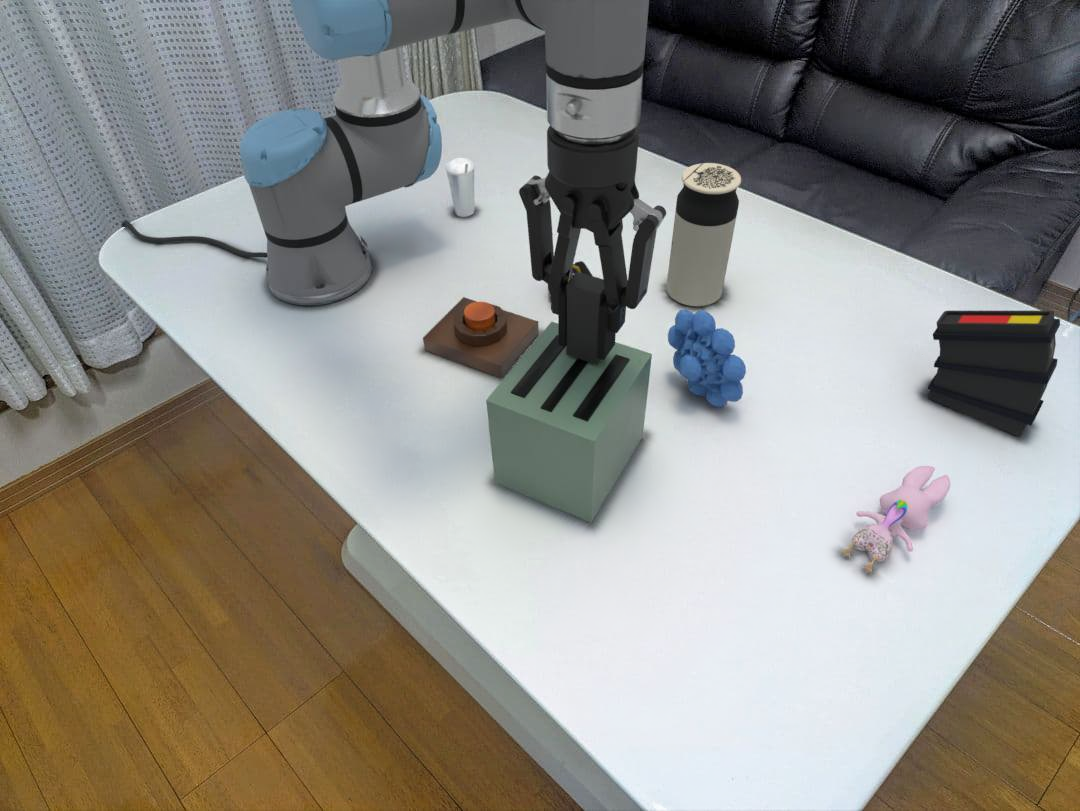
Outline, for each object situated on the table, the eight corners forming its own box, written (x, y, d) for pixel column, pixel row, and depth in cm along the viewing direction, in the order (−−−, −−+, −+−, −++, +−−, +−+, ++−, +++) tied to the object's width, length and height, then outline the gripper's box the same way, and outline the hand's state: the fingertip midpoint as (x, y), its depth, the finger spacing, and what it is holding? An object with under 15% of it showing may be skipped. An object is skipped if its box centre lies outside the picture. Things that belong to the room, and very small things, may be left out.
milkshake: (459, 224, 120) (453, 167, 113) (447, 209, 124) (440, 153, 117) (484, 217, 122) (479, 160, 115) (471, 202, 125) (466, 146, 118)
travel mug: (732, 289, 106) (755, 174, 93) (701, 315, 102) (720, 199, 89) (686, 268, 110) (703, 155, 97) (655, 292, 106) (667, 178, 93)
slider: (566, 354, 77) (566, 284, 70) (576, 341, 78) (577, 271, 72) (597, 365, 76) (600, 294, 69) (606, 351, 77) (610, 281, 71)
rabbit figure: (880, 591, 73) (963, 497, 78) (893, 564, 68) (981, 466, 73) (825, 551, 76) (909, 463, 81) (835, 523, 72) (923, 431, 77)
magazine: (1056, 443, 82) (1050, 326, 75) (930, 429, 92) (914, 325, 85) (1065, 424, 84) (1059, 309, 77) (940, 412, 94) (926, 309, 87)
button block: (424, 350, 98) (420, 327, 95) (465, 309, 104) (462, 286, 102) (501, 378, 94) (499, 355, 91) (538, 333, 100) (538, 310, 97)
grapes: (641, 384, 93) (648, 309, 84) (678, 361, 96) (689, 286, 87) (711, 436, 86) (727, 360, 78) (748, 409, 89) (768, 333, 81)
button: (459, 325, 96) (457, 314, 95) (475, 308, 99) (474, 298, 97) (485, 334, 95) (484, 323, 94) (501, 317, 97) (500, 306, 96)
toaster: (494, 482, 82) (485, 398, 73) (553, 403, 91) (551, 319, 81) (591, 523, 78) (594, 440, 69) (642, 436, 86) (652, 352, 77)
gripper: (480, 123, 60) (498, 341, 77) (673, 166, 54) (647, 393, 71) (525, 89, 65) (533, 302, 81) (707, 126, 59) (676, 347, 75)
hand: (586, 344), depth 76 cm, fingers open, 4 cm apart
